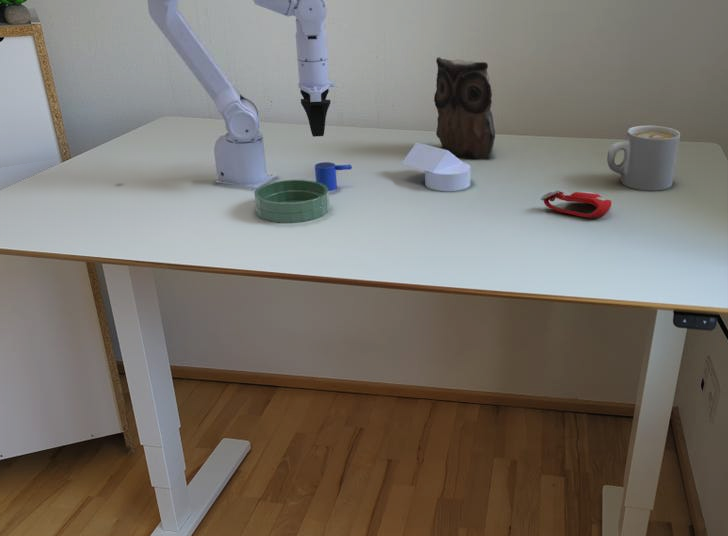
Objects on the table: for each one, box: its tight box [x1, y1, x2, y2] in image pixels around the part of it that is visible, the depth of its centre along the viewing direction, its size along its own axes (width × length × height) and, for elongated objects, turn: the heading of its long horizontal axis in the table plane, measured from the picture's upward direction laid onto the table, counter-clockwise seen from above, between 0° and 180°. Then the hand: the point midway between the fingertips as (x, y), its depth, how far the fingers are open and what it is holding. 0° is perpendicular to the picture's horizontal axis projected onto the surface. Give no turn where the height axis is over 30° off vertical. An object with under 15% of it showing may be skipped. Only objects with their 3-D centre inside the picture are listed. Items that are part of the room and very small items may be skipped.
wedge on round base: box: [401, 141, 472, 192], centre depth 158 cm, size 9×7×13 cm
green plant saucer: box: [253, 179, 330, 224], centre depth 145 cm, size 13×13×4 cm
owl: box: [433, 56, 496, 160], centre depth 172 cm, size 13×13×20 cm
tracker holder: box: [540, 189, 612, 219], centre depth 144 cm, size 12×4×10 cm
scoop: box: [314, 161, 353, 192], centre depth 155 cm, size 7×4×5 cm, turn 98°
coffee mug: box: [606, 125, 681, 192], centre depth 156 cm, size 13×10×10 cm
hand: (317, 130), depth 158 cm, fingers open, 7 cm apart
